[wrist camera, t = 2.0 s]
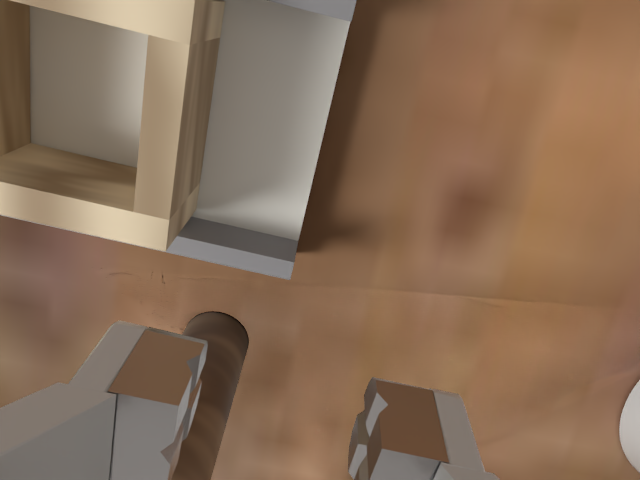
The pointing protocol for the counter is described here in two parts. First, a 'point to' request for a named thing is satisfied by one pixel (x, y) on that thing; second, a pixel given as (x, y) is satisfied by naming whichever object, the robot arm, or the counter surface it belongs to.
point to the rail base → (224, 120)
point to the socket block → (155, 132)
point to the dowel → (212, 391)
